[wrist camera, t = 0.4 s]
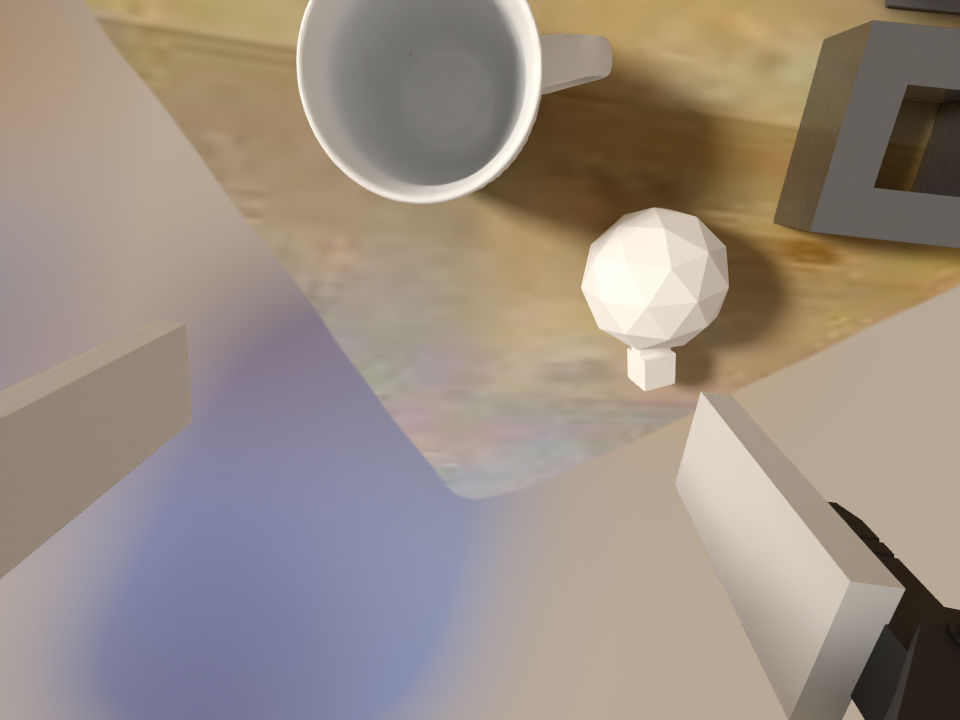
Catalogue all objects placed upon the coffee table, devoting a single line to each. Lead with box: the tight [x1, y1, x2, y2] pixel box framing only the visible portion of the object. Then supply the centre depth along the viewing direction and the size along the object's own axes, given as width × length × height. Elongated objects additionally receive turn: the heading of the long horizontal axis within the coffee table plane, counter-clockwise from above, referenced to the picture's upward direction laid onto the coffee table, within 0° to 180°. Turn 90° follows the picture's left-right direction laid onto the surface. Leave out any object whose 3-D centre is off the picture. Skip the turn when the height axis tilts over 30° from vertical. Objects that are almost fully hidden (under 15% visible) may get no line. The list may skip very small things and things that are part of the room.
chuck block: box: [773, 20, 960, 248], centre depth 33 cm, size 11×11×5 cm
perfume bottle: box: [581, 207, 729, 391], centre depth 36 cm, size 9×9×12 cm
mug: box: [297, 0, 612, 204], centre depth 30 cm, size 15×11×13 cm
